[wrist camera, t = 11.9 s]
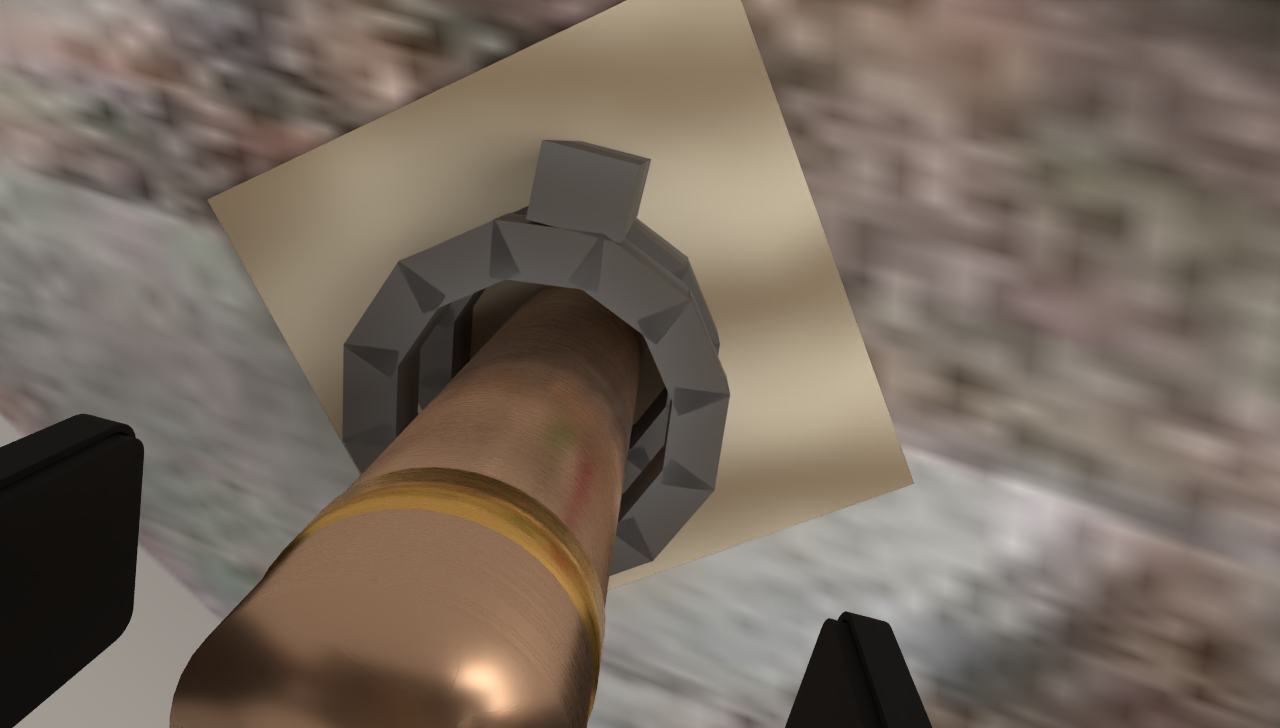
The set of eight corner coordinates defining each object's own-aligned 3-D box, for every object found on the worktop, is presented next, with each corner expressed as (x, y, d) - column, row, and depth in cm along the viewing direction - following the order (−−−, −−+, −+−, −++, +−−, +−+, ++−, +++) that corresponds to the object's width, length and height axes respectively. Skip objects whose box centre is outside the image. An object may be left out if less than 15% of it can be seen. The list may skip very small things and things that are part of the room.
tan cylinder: (665, 383, 23) (648, 864, 8) (543, 431, 24) (297, 966, 8) (611, 257, 22) (466, 518, 7) (484, 310, 23) (81, 662, 7)
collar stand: (903, 467, 25) (995, 601, 17) (464, 622, 27) (385, 795, 20) (722, -36, 21) (744, -131, 14) (230, 196, 23) (29, 220, 16)
